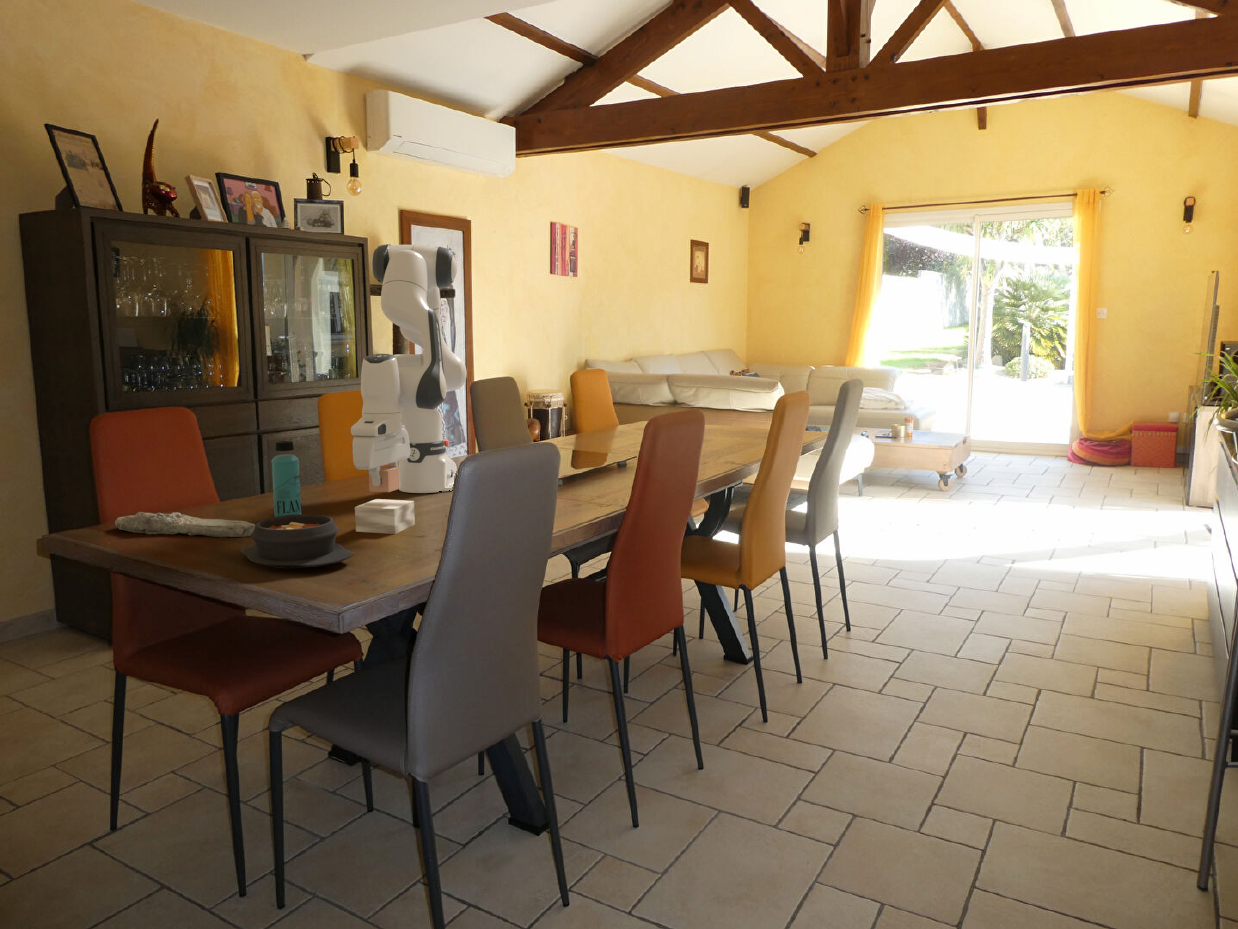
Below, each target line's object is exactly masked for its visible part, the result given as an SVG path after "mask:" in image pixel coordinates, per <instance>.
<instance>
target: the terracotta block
mask: <svg viewBox="0 0 1238 929" xmlns="http://www.w3.org/2000/svg"><path fill="white" fill-rule="evenodd" d="M379 475H380V478H382V485H379V486H373V484H372V478H371V475H370V473H369V472H368V486H369V492H374V493H375V492H377V493H391V492H393V491H397V490H399V467H398V468H393V467H389V466H387V467H386V466H380V471H379Z"/></svg>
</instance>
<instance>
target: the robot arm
mask: <svg viewBox="0 0 1238 929" xmlns="http://www.w3.org/2000/svg"><path fill="white" fill-rule="evenodd" d="M370 266H371V272H372V274H373V277H374V279H375V280H376V281H377V282H378V283H380V284H382V286H381V291H380V292H381V294H380V307H381V311H382V312H383V315H384V316H386V318H387V319H388V320H389V321H390V322H391V323H393V324H394V325H396V326H398V327H399V330H400V333H401V336H403V337H404V338H405V340H407V341H409V342H411V343H412V344H416V345H418V346H419V347H421V349H423V352H422V353H420V354H416V353H415V354H414V353H413V354H411V353H410V354H403V353H402V354H390V353H375V354H370V355H367V356H365V357H364V358H363V360H362V364H361V375H360V394H361V397H362V402H363V403H362V404H363V405H362V408H361V417H360V418H359V419H358V421H357V422H355V423H354V424H353V425H352V426H350V434H351V435H352V436H353V438H352V460H353V461H352V462H353V465H354V467H355V469H356V470H363V471H365V470H367V471H368V474H369V473H370V475H371V478H372V484H373V486H379V485H382V478H380V475H379V471H380V467H384V466H387V467H393V468H399V489H398V490H399V491H400V492H402V493H409V494H410V493H411V494H428V493H429V494H430V493H431V494H432V493H440V492H439V491H442V492H453V491H452V487H453V484H454V476H455V473H456V471H457V472H458V467H457V464H456V462H454V460H453V459H452V458H451V457H450V456H449V455H448V454H447V453H446V452H447V449H446V448H448V447H449V446H450V443H449V442H450V441H449V440H448V439H443V419H442V418H443V417H442V414H441V413H440V411H439V410H438V409H437V408H438V407H440V405H442V403H444V402H445V401H446V397H447V393H448V392H451V391H453V392H454V391H456V390H460V389H461V388H462V387H463V385H464V384H465V382H466V380H467V376H468V374H467V372H468V371H467V368H466V367H467V366H466V364H465V363H464V361H463V360H462V359H461V357H459V355H457V354H455V353H454V352H453V351H452V349H450V348H449V346H448V345H447V343H446V341H445V339H444V336H443V332H442V321H441V320H442V318H441V292H440V291H441V290H443V289H445V288H448V287H450V286H451V285H452V284H453V283H454V281H455V278H456V275H457V272H458V264H457V260H456V257H455V254H454V253H453V251H452V250H451V249H449V248H446V247H442V246H438V247H436V246H430V245H425V244H418V243H417V244H393V245H391V244H390V243H389V244H387V243H386V244H381V245H378V246H377V247H376V248H375V249H374V251H373V254H372V257H371V261H370ZM449 490H450V491H449Z"/></svg>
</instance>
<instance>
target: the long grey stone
mask: <svg viewBox="0 0 1238 929" xmlns="http://www.w3.org/2000/svg"><path fill="white" fill-rule="evenodd" d="M114 524H115V527H118V530H119V531H120V530H121V531H126V532H130V533H131V532H132V533H135V534H137V533H138V534H146V535H161V534H162V535H171V536H172V535H176V534H177V535H178V534H184V535H188V536H197V535H198V536H199V535H200V536H206V537H214V538H233V537H234V538H241V537H243V538H245V537H251V533H252V532H253V531H254V529H255V525H256V524H255V523H252V522H250V521H249V522H248V521H245V520H232V519H231V520H230V519H222V518H221V519H220V518H213V519H212V518H202V517H201V518H200V517H196V516H191V515H186V514H184V513H181V512H178V511H177V512H171V513H161V512H156V513H152V512H143V511H138V512H137V513H135V514H134V515H125V516H119V517H117V518H116V519H115V520H114Z"/></svg>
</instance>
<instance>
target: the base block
mask: <svg viewBox="0 0 1238 929" xmlns="http://www.w3.org/2000/svg"><path fill="white" fill-rule="evenodd" d="M415 515H416V514H415V501H414V500H402V499H385V498H384V499H382V498H381V499H380V498H375V499H373V500H370V501H367V502H365V503H362V504H359V505H357V506H355V507H354V516H355V517H354V518H355V521H354V522H355V532H358V533H359V532H361V533H373V534H374V533H375V534H392V535H396V534H398V533H400V532H403V531H404V530H406V529H409V528H410V527H412V526H413V527H414V526H415V524H416V520H415V519H416V516H415Z"/></svg>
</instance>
